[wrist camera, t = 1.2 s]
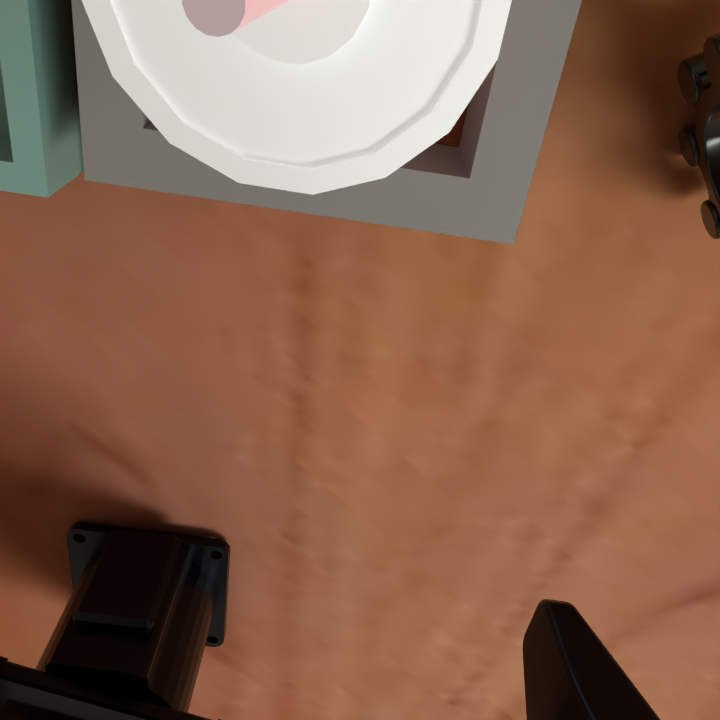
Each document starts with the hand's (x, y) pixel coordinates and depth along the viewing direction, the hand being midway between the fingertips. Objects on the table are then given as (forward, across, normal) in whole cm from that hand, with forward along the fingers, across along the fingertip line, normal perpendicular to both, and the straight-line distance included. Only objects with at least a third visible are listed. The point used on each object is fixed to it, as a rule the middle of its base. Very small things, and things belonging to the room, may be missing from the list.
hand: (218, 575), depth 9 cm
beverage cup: (+14, 0, -7) cm, 15 cm away
